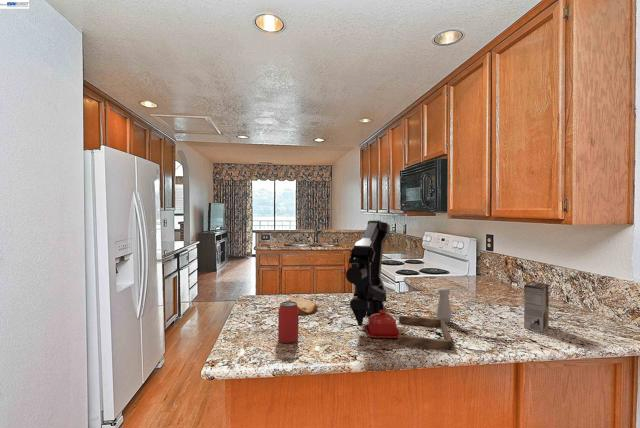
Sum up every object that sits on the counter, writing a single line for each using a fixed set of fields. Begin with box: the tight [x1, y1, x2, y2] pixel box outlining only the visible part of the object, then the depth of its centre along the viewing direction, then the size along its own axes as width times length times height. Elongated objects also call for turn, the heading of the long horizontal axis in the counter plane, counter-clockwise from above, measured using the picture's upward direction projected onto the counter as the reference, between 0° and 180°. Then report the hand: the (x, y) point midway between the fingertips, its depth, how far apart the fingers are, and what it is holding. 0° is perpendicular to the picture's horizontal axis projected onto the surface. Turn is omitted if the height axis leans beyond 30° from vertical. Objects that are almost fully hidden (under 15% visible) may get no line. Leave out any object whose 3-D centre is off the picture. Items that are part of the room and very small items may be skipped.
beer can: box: [277, 300, 300, 344], centre depth 104 cm, size 7×7×12 cm
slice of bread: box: [288, 297, 319, 316], centre depth 140 cm, size 18×18×4 cm
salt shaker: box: [435, 287, 453, 324], centre depth 124 cm, size 6×6×13 cm
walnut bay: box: [397, 314, 453, 351], centre depth 110 cm, size 16×22×2 cm
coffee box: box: [523, 281, 550, 333], centre depth 118 cm, size 9×6×16 cm
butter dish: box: [364, 309, 402, 339], centre depth 110 cm, size 12×12×8 cm
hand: (362, 321), depth 115 cm, fingers open, 9 cm apart
